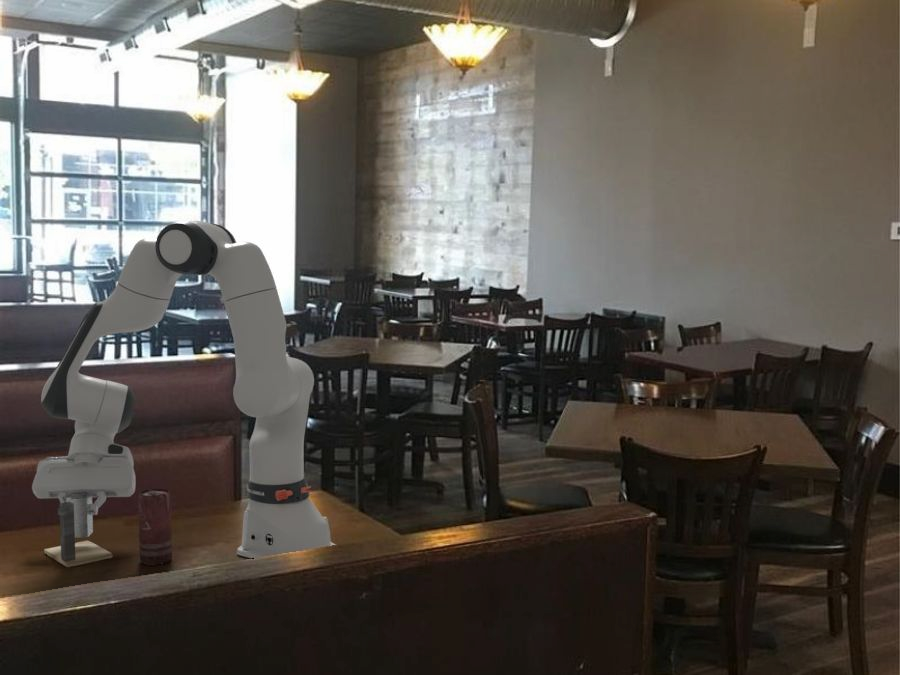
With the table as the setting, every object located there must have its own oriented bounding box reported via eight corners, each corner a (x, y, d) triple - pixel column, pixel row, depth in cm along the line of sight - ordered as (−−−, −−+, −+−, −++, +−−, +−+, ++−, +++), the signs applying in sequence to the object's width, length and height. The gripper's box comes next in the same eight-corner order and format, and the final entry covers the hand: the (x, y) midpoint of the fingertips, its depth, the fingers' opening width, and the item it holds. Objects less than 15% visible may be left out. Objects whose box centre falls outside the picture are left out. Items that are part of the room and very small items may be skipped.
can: (163, 566, 186) (162, 496, 184) (134, 564, 187) (132, 494, 186) (178, 557, 192) (177, 488, 190) (149, 555, 193) (148, 487, 192)
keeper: (115, 558, 190) (113, 499, 189) (61, 570, 183) (59, 509, 182) (88, 544, 200) (86, 487, 199) (35, 554, 193) (33, 496, 192)
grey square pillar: (93, 531, 198) (91, 491, 197) (87, 537, 194) (86, 495, 193) (73, 532, 198) (71, 491, 197) (67, 537, 194) (66, 496, 193)
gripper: (35, 449, 200) (21, 507, 191) (136, 447, 202) (126, 504, 194) (43, 465, 205) (29, 522, 196) (141, 463, 207) (132, 520, 198)
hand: (78, 513), depth 195 cm, fingers closed on grey square pillar, 4 cm apart
